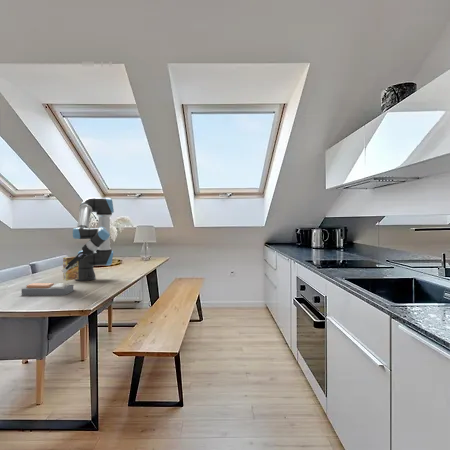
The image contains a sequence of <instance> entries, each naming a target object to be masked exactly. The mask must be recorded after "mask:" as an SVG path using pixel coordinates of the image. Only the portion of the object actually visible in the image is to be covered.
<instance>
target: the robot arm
mask: <svg viewBox="0 0 450 450" xmlns="http://www.w3.org/2000/svg"><path fill="white" fill-rule="evenodd" d="M78 207H79V208H78V212H79V213H78V214H79V216H78V220H77V225H76V227H74V228H72V239H74V240H89V241H87V242H86V243H84V245H83V246H82V247H81V250H79V251H78V252H77V255H76V256H74V257H75V258H74V259H73V260H71V261H70V262H69V263H68V265H67V266H66V267H65V268H64V269H63V268H62V270H61V272H62V274H63V273H64V274H65V273H66V272H67V271H68V270H69V269H70V268H71V267H72V266H73V265H74V264H75V263H76V262H77V261H78V279H75V281H78V282H79V281H80V282H85V281H86V282H87V281H93V280H96V279H97V276H96V273H95V270H94V267H98V266H104V267H105V266H111V265H113V258H114V250H113V248H111V245H110V243H111V237H110V236H111V225H110V224H111V219H110V218H111V216H112V215H113V213H114V212H115V211H114V204H113V199H112V198H111V197H88V198H86V199H85V200H83V201H82V202H81V203H80V205H79V206H78ZM92 213H96V216H97V217H98V224H97V226H98V227H92V228H91V227H90V221H91V220H90V219H91V214H92ZM70 263H71V264H70Z"/></svg>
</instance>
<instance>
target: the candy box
mask: <svg viewBox="0 0 450 450" xmlns="http://www.w3.org/2000/svg"><path fill="white" fill-rule="evenodd" d="M75 257H76V256H67V257H62V264H63V265H62V270H63V269H64V268H65V267H66V266H67V265H68V263H69V262H70V261H71V260H73V259H74V258H75ZM70 264H71V263H70ZM62 274H63V276H62V278H63V279H62V280H63V281H74V280H75V279H78V261H77V262H76V263H75V264H74V265H73V266H72V267H71V268H70V269H69V270H68V271H67V272H66V273H65V274H64V273H63V272H62ZM75 281H76V280H75Z"/></svg>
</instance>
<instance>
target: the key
mask: <svg viewBox="0 0 450 450" xmlns="http://www.w3.org/2000/svg"><path fill="white" fill-rule="evenodd" d="M53 285H55V283H53V282H45V283H44V282H32V283H30V284H27V285H26V287H27V288H50V287H51V286H53Z"/></svg>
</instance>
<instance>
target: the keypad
mask: <svg viewBox="0 0 450 450" xmlns="http://www.w3.org/2000/svg"><path fill="white" fill-rule="evenodd" d="M72 292H74V284H70V283H69V282H65V283H63V282H61V283H60V282H59V283H56V284H54V285H53V286H51V287H50V288H27V286H26V287H22V288H21V296H66V295H68V294H70V293H72Z"/></svg>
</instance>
